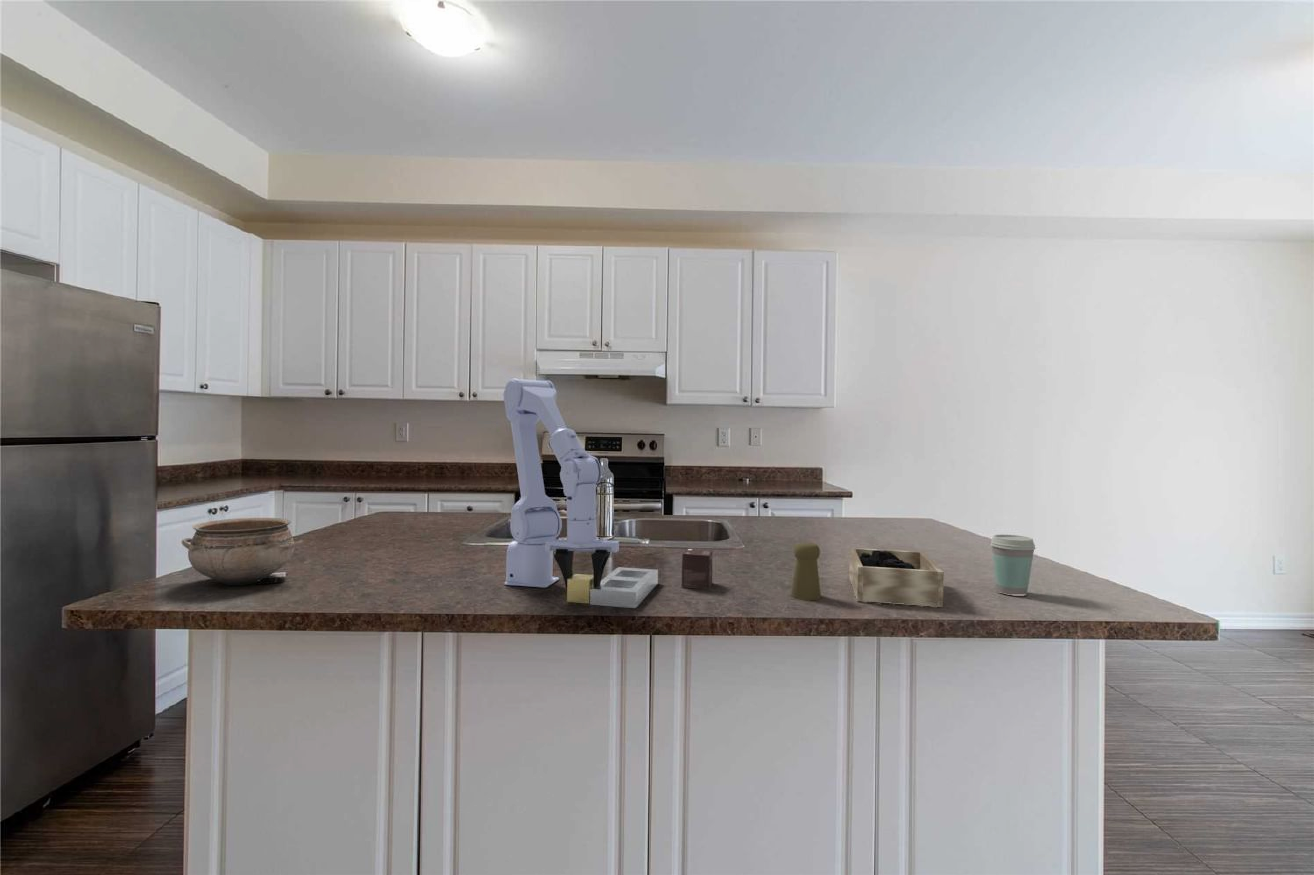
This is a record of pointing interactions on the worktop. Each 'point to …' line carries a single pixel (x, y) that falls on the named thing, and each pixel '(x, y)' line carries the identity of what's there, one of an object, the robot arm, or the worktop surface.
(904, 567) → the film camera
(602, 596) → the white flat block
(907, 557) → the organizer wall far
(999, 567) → the coffee cup
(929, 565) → the wall
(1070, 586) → the worktop surface
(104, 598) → the worktop surface
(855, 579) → the organizer wall panel
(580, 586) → the pale yellow wooden cube
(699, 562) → the box
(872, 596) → the wall
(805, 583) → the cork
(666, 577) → the worktop surface
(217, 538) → the cooking pot
